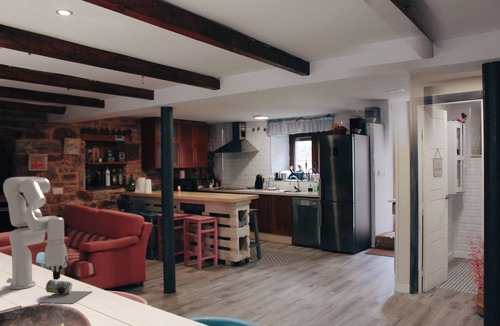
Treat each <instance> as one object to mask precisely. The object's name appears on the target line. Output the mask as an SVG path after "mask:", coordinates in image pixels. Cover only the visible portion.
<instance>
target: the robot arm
mask: <svg viewBox="0 0 500 326" xmlns="http://www.w3.org/2000/svg"><path fill="white" fill-rule="evenodd" d="M2 187H3V188H2V189H3V194H4V195H5V199H6V202H7V204H8V206H7V207H8V213H9V219H10V223H11V225H12V226H14V227H23V228H17V229H14V230H12V231H10V234H9V243H10V249H11V272H12V273H11V275H12V277H11V278H7V279H6V282H5V283H7V284H9V283H10V285H8V287H9V289H11V290H23V289H28V288H29V289H30V288H32V287H34V286H35V285H36V282H35V280H33V259H32V258H33V257H32V256H33V254H32V251H31V249H30V248H28V246H30V245H36V244H41V243H42V242H44V240H45V237H46V234H45V233H46V232H47V239H46V240H45V243H46V244H47V245H45V249H44V256H43V257H44V258H43V262H44V263H43V264H44V265H45V268H49V269H50V270H51V272H52V278H53V279H52V280H55V281H58V280H59V279H61V270H62V269H64V268H65V269H66V268H67V267H68V249H67V246H66V244H65V220H64V218H63V217H62V216H61V217H60V216H56V215H47V216H43V214H42V211H41V210H40V208H41V207H43V206H45V204H46V202H47V199H46V196H45V194H47V193H48V192H50V190H51V183H50V181H49V180H48V179H47V178H46V177H41V176H14V177H9V178H6V179H5V180H4V182H3V186H2ZM20 193H22V194H23V195H22V194H20ZM27 204H28V205H27ZM26 226H27V227H26Z"/></svg>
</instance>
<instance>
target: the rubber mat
mask: <svg viewBox="0 0 500 326" xmlns="http://www.w3.org/2000/svg"><path fill="white" fill-rule="evenodd" d="M92 293H93V291H90V290H89V291H86V290H83V291H81V290H71V292H70V293H68V294H61V293H52V294H51V295H49V296H47V297H45V298H43V299H42V300H40V301H37V304H52V303H54V304H60V305H61V304H62V305H63V304H65V305H66V304H67V305H74V304H75V303H77V302H79V301H80V300H82V299H84V298H85V297H87V296H88V295H90V294H92Z"/></svg>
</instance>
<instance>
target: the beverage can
mask: <svg viewBox="0 0 500 326" xmlns="http://www.w3.org/2000/svg"><path fill="white" fill-rule="evenodd" d="M72 288H73V283H72V282H71V281H67V280H66V281H65V280H53V279H50V280H48V281H47V282H46V284H45V292H46V293H51V294H54V293H61V294H68V293H70V292H71V291H72Z"/></svg>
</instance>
